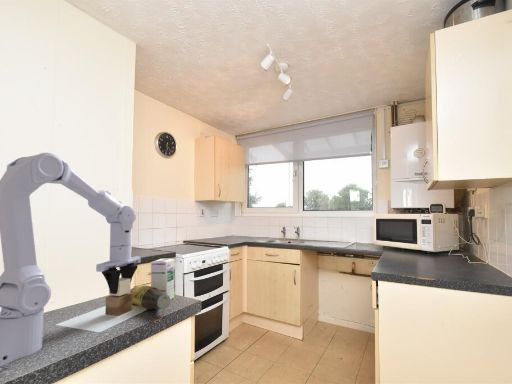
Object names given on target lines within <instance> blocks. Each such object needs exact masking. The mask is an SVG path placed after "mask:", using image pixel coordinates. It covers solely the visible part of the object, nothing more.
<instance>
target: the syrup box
mask: <svg viewBox="0 0 512 384" xmlns="http://www.w3.org/2000/svg"><path fill="white" fill-rule="evenodd" d="M175 262H176V260H175V258H170V257H168V258H159V259H157V260H154V261H150V287H155V288H157V289H159V290H160V291H162V292H163V294H167V295H168V296H169V297H170V303H171V302H173V301H175V300H176V271H175V270H176V269H175V268H176V265H175V264H176V263H175Z"/></svg>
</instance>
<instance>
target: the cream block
mask: <svg viewBox="0 0 512 384" xmlns="http://www.w3.org/2000/svg"><path fill="white" fill-rule="evenodd" d="M130 280H131V279H129V278H121V277H119V283H118V291H117V294H110V290H109V289H108V290H109V291H108V296H110V295H115V296H121V295H124V294H126V293H130V292H131V284H130ZM131 281H132V280H131Z"/></svg>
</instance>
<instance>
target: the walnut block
mask: <svg viewBox="0 0 512 384" xmlns="http://www.w3.org/2000/svg"><path fill="white" fill-rule="evenodd" d="M132 305H133V303H132V293H130V292H129V293H126V294H124V295H121V296H115V295H107V296H105V306H106V311H105V315H113V316H120V315H122V314H125V313H127V312H129V311H131V310H132Z"/></svg>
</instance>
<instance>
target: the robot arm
mask: <svg viewBox="0 0 512 384" xmlns="http://www.w3.org/2000/svg"><path fill="white" fill-rule="evenodd" d="M46 184H55V185H62V186H64V187H65V188H67V189H68V190H70V191H72V192H74V193H76V194H77V195H79V196H81V197H82V198H83V199H85V200H87V205H88V207H89V208H91V209H93V211H96V212H97V213H99V214H100V215H101V216H102V217H105V220H106V222H107V224H109V227H110V228H109V229H110V230H109V235H110V236H109V260H108V261H105V262H101V263H97V264H96V266H95V267H96V270H95V271H96V272H100V273H101V274H102V275H103V277H104V279H105V280H106V283H107V286H108V290H110V294H117V291H118V283H119V278H129V279H131V280H130V285H131V282H132V280H133V277H134V274H135V272H136V271H137V269H138V264H139V263H142V262H141V257H142V256H137V255H136V256H132V229H133V228H134V226H133V224H134V222H135V221H136V219H137V214H136V213H135V210H134V209H133V208H132V207H131V206H128V205H124V204H123V202H122V201H120V200H118V199H116V198H115V197H113V196H112V195H111V192H109V191H108V190H107V191H106V190H102V189H101V190H97V189H96V188H95V187H94V186H92V185H91V184H90V183H88V182H87V181H86V180H85V179H84V178H82V177H81V176H80V175H79V174H78V173H76V172H75V171H74V170H73V169H72V168H71V167H70V165H69V163H68V162H66V161H65V160H62V159H61V158H60V157H59V156H58V155H56V154H54V153H51V152H41V153H39V154H38V153H37V154H35V155H29V156H21V157H19V158H17V159H14V160H13V161H11V162H10V163H8V164H7V165H6V171H5V172H4V174H3V175H2V177H1V178H0V243H1V253H2V254H1V255H2V263H3V272H2V274H1V275H0V372H2V371H5V370H8V368H7V367H3V366H4V365H7V364H9V363H12V362H14V361H16V360H18V359H21V358H25V357H27V356H30V355H33V354H34V353H36V352H38V351H39V350H41V349H42V348H43V334H44V332H43V331H44V310H45V307H46V306H47V304H48V303H49V301H50V299H51V298H52V297H51V296H52V290H51V287H50V285H48V283H47V282H46V279H45V274H44V272H42V270H41V269H40V267H39V266H38V262H37V253H36V245H35V236H34V235H35V234H34V228H33V226H34V225H33V218H32V209H31V199H30V198H31V197H30V196H31V195H32V194H33V193H34V192H36V191H37V190H38V189H40V187H42V186H43V185H46ZM118 268H119V269H118Z"/></svg>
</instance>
